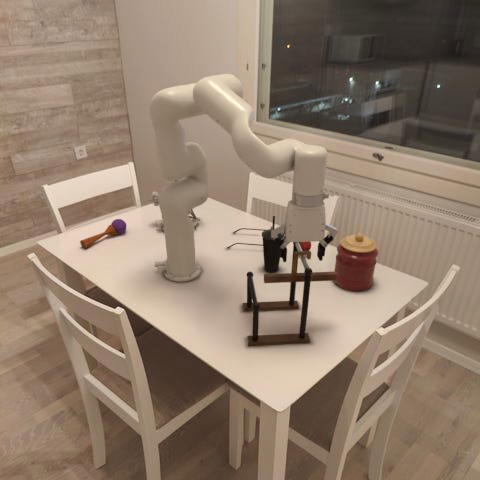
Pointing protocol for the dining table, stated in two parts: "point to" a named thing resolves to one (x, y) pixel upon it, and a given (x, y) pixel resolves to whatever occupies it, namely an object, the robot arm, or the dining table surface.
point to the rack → (279, 308)
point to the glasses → (245, 243)
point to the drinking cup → (271, 250)
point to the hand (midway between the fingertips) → (301, 259)
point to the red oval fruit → (305, 246)
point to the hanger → (299, 276)
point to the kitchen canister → (355, 262)
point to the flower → (160, 222)
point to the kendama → (106, 232)
